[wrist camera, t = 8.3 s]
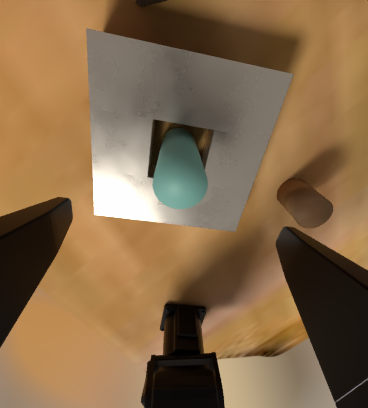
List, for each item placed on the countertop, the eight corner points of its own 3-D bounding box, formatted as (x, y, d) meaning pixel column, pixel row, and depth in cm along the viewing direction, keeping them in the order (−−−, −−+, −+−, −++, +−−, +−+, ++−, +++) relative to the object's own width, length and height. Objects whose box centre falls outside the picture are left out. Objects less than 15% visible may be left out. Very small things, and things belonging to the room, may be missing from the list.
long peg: (192, 163, 21) (201, 212, 13) (159, 158, 21) (150, 205, 13) (198, 130, 19) (213, 163, 12) (164, 124, 19) (155, 154, 11)
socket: (228, 215, 24) (235, 231, 22) (103, 199, 23) (94, 214, 20) (276, 75, 17) (293, 74, 15) (100, 37, 16) (86, 28, 13)
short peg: (298, 206, 24) (321, 230, 20) (272, 202, 24) (290, 225, 20) (312, 180, 22) (339, 201, 19) (284, 176, 22) (306, 196, 18)
